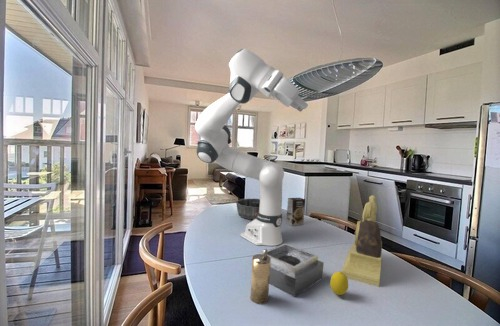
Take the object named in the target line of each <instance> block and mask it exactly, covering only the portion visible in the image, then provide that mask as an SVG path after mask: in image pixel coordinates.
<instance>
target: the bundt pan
mask: <svg viewBox="0 0 500 326" xmlns="http://www.w3.org/2000/svg"><path fill="white" fill-rule="evenodd" d="M235 203H236V210H237V211H236V212H237V214H238V215H239V217H240V218H242V219H243V218H244V219H245V220H246V219H248V220H249V221H253V220H254V219H256V217H257V215H255V214H256V213H257V212H259V205H260V198H241V199H238V200H236V201H235Z"/></svg>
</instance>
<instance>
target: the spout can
mask: <svg viewBox="0 0 500 326" xmlns="http://www.w3.org/2000/svg"><path fill="white" fill-rule="evenodd" d="M267 250H268V249H265V248H264V249H263V251H262V252H263V254H261V253H259V254H254V255H253V256H252V260H251V261H252V262H251V278H250V279H251V280H250V283H251V284H250V296H249V298H250V299H249V300H251V302H252V303H255V304H259V305H263V304H265V303H267V302H268V301H269V293H270V291H269V290H270V284H269V278H270V261H271V258H270V257H269V256H267Z"/></svg>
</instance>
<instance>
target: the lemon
mask: <svg viewBox="0 0 500 326" xmlns="http://www.w3.org/2000/svg"><path fill="white" fill-rule="evenodd" d="M348 280H349V279H348V278H347V277H346V275H345V274H343V273H342V271H336V272H333V274H332V275H331V278H330V284H329V285H330V289H331V291H332V292H333V293H334V294H336V295H337V296H338V297H339V296H341V295H342V296H343V295H344V294H346V293H347V291H348V289H349V281H348Z"/></svg>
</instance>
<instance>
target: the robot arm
mask: <svg viewBox="0 0 500 326" xmlns="http://www.w3.org/2000/svg"><path fill="white" fill-rule="evenodd" d="M228 67H229V70H230V78H229V79H230V82H229V84H228V93H226V94H225V95H224V96H222V97H220V98H218V99H217V100H216V101H214V102H212V103H211V104H210V105H208V106H207V107H206V108H205V109H204V110H203V111H202V112H201V113H200V115H199V116H198V118H197V120H196V122H195V126H194V129H195V132H196V133H197V134H198V135H199V136H200V140H198V141H197V144H196V145H197V147H196V155H197V158H199V160H200V161H202V162H204V163H206V164H213V163H214V162H216V164H217V165H219V166H220V167H222V168H224V169H226V170H228V171H230V172H232V173H236V174H238V175H240V176H244V177H246V178H249V179H253V180H257V181H259V185H258V186H259V199H260V205H259V212H257V213H256V214H255V215H257V217H256V219H254V220H253V219H252V220H250V222H249V223H248V222H247V224H246V226H245V229H244V231H242V232H241V233H240V237H242V238H244V239H245V240H247V241H249V242H250V243H252V244H253V245H256V246H268V247H269V246H270V247H271V246H272V247H273V246H280V245H282V244H283V242H284V240H283V237H282V220H283V219H282V218H283V214H282V205H283V203H282V202H283V180H284V176H285V170H284V168H283V167H282V165H280V164H278V163H276V162H274V161H270V160H267V159H265V158H262V157H261V158H260V157H257V156H254V155H251V154H249V153H246V152H245V151H244V152H243V151H240V150H237V149H235V148H233V147H231V146H230V144H231V143H232V139H231V131H230V129H229V127H228V126H226V125H227V123H228V122H229V120H230V119H231V118H232V116H233V114H234V113H235V111H236V110H237V108H238V106H239V105H240V104H243V105H244V104H247V103H248V102H250V101H251V100H252V99H253V98H254V97H255V96H256V95H257V94H258V93H259V92H260V93H261V94H263V95H264V96H265V97H267V98H270V97H273V98H275V99H276V100H277V101H278V102H279V103H281V104H282V105H284V107H287V108H289V107H291V108H294V109H295V110H297V111H298V112H300V113H301V112H302V111H303V110H306V109H307V108H308V106H309V104H308V103H307V102H306V101H304V99H303V98H302V97H301V96H300V90H299V88H298V87H296V86H295V84H293V83H292V82H291V81H290V80H289V79H288V78H286V77H285V76H284V73H283V72H282V71H280V70H279V69H275V68H274V67H273V66H270V65H269V64H267V63H266V61H264V60H263V59H262V58H261V57H260V56H258V55H257V54H256V53H254V52H253V51H251V50H250V49H247V48H240V49H239V50H237V52H235V53H234V55H233V56H231V58H230V60H229V63H228Z"/></svg>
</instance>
